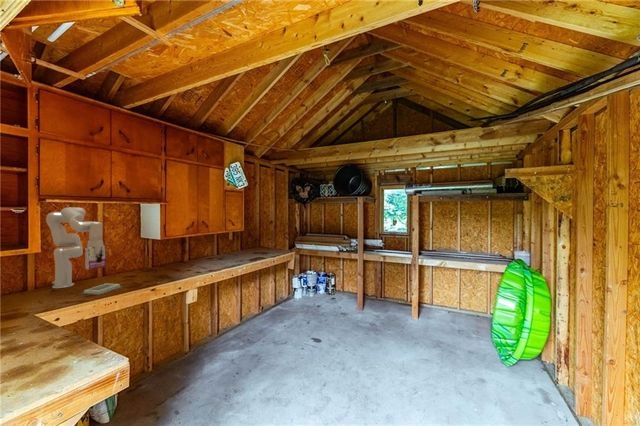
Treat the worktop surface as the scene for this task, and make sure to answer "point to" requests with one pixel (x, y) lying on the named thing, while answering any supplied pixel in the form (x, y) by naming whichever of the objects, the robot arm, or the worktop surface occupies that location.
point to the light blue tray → (95, 291)
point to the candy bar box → (93, 259)
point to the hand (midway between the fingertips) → (95, 261)
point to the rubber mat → (103, 292)
